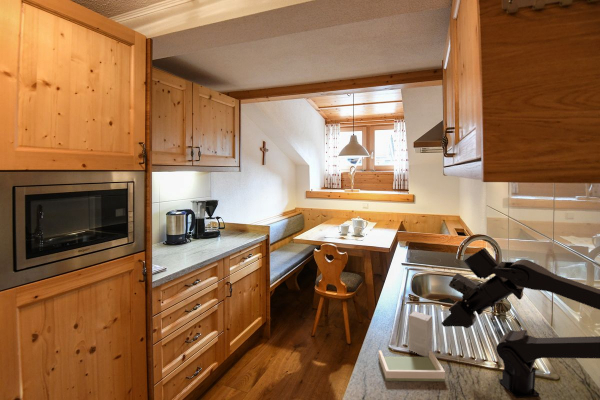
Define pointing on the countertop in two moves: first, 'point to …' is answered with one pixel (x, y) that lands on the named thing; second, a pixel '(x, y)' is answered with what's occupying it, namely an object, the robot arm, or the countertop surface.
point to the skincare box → (420, 333)
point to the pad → (412, 368)
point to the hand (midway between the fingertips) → (447, 318)
